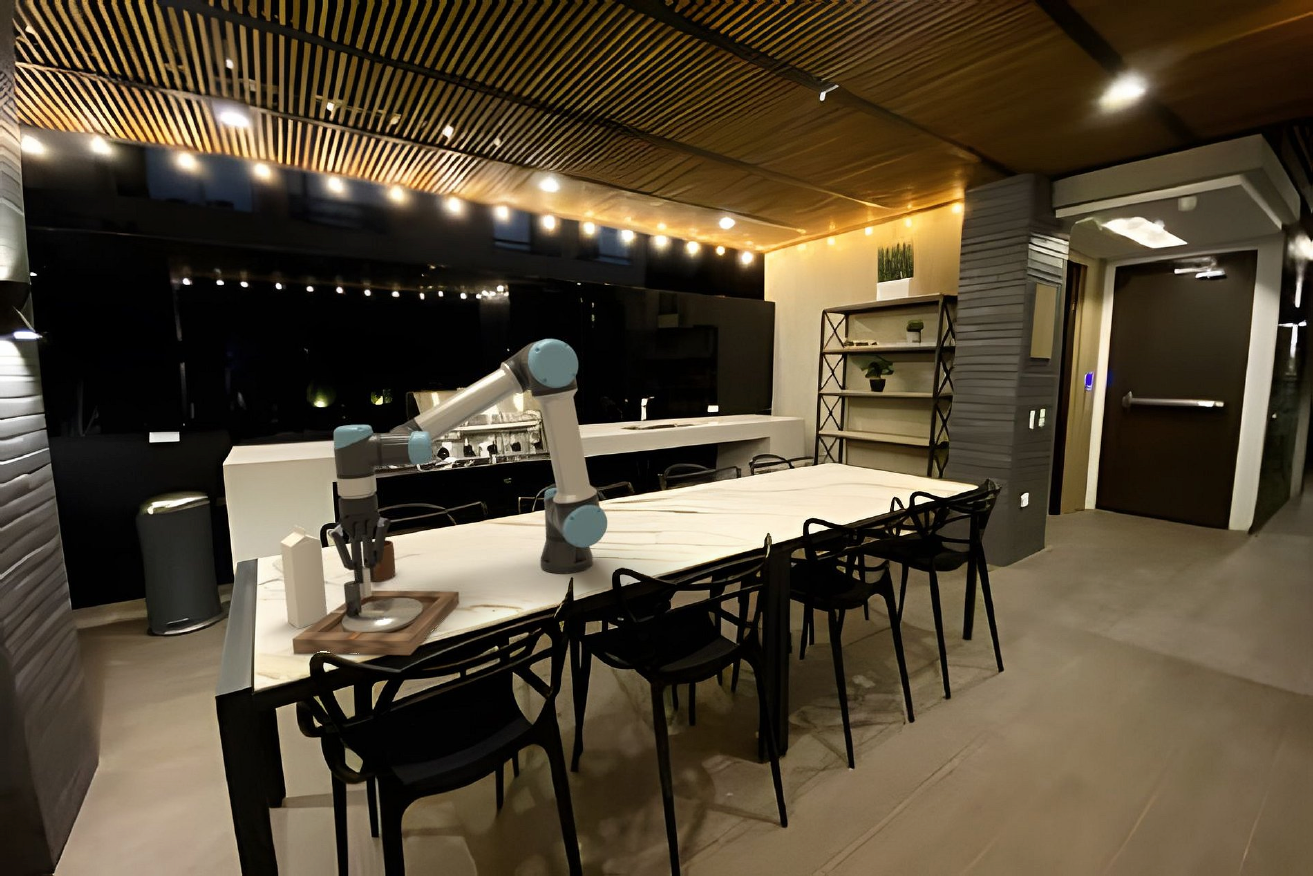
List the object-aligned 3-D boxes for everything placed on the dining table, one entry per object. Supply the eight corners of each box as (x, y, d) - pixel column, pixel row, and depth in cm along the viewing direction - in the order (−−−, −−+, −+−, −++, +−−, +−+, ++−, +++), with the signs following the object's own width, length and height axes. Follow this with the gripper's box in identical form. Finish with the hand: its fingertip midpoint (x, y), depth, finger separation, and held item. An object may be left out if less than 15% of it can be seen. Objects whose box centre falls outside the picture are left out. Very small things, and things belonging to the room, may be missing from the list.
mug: (391, 586, 141) (389, 552, 140) (359, 590, 138) (356, 555, 137) (397, 570, 152) (395, 538, 151) (367, 574, 150) (364, 541, 148)
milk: (316, 612, 126) (309, 521, 123) (328, 619, 122) (320, 526, 120) (287, 622, 121) (278, 527, 118) (297, 629, 117) (289, 532, 115)
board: (459, 603, 130) (458, 590, 130) (410, 655, 106) (409, 640, 106) (363, 602, 131) (362, 589, 131) (293, 653, 107) (292, 638, 107)
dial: (434, 602, 127) (432, 569, 126) (403, 635, 111) (400, 597, 110) (366, 603, 126) (364, 570, 125) (326, 636, 111) (322, 598, 110)
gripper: (379, 487, 126) (386, 582, 129) (318, 497, 116) (328, 600, 119) (394, 491, 121) (401, 590, 124) (333, 503, 111) (342, 610, 114)
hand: (365, 595), depth 122 cm, fingers closed
